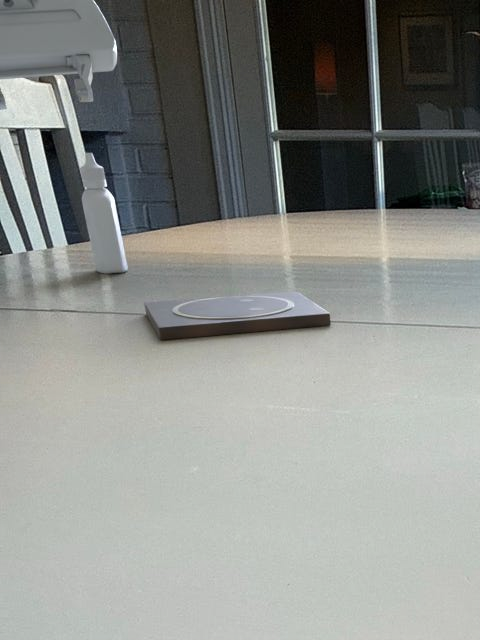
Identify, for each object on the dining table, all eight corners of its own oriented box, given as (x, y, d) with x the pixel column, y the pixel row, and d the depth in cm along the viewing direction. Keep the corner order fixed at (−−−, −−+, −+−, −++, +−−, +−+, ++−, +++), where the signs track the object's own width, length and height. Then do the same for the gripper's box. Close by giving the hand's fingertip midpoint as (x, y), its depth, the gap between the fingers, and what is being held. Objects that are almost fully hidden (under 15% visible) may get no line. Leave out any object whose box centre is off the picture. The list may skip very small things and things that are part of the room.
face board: (160, 340, 72) (158, 325, 71) (146, 314, 81) (143, 300, 81) (331, 325, 77) (329, 311, 76) (298, 302, 86) (296, 289, 86)
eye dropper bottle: (140, 267, 106) (118, 151, 100) (120, 274, 102) (96, 154, 95) (104, 266, 107) (81, 152, 101) (83, 274, 102) (57, 154, 96)
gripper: (-108, -25, 96) (-64, 87, 94) (90, -31, 104) (133, 72, 102) (-93, 26, 101) (-51, 132, 100) (93, 16, 109) (134, 114, 108)
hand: (43, 101), depth 101 cm, fingers open, 8 cm apart
